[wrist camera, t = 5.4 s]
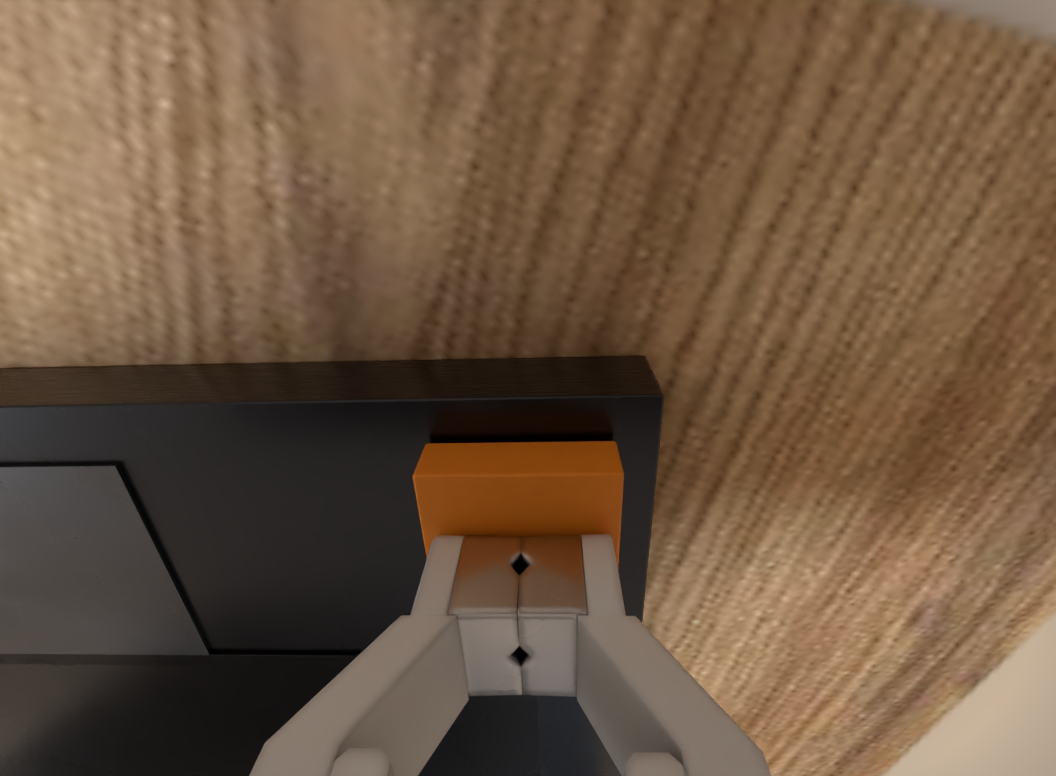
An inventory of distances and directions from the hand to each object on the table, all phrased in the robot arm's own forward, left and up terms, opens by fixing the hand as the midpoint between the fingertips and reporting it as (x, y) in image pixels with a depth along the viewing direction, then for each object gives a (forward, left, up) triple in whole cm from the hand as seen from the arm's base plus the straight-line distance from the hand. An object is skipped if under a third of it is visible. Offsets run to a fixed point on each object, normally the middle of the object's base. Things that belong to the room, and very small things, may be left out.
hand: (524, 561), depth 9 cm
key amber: (0, 0, -2) cm, 2 cm away
